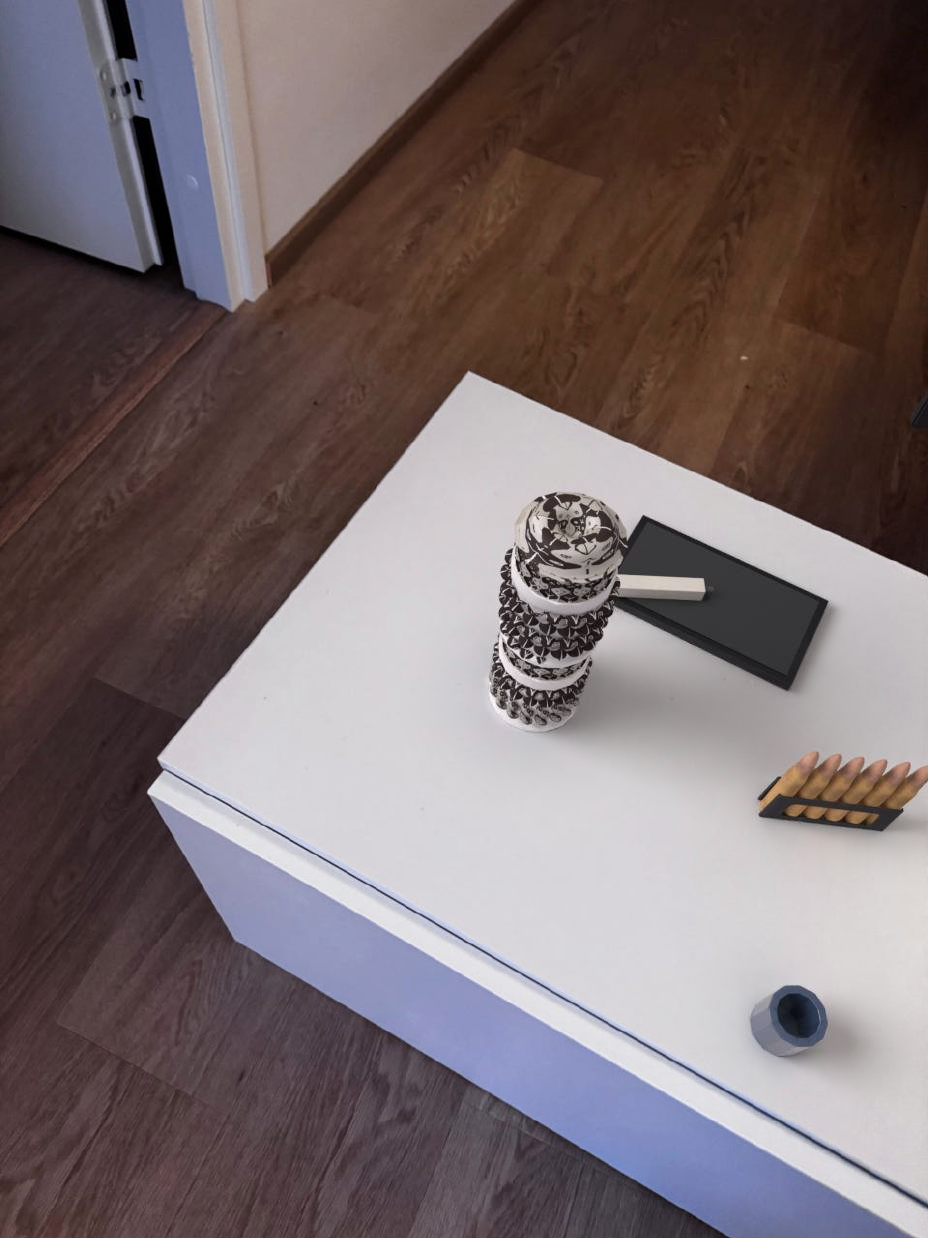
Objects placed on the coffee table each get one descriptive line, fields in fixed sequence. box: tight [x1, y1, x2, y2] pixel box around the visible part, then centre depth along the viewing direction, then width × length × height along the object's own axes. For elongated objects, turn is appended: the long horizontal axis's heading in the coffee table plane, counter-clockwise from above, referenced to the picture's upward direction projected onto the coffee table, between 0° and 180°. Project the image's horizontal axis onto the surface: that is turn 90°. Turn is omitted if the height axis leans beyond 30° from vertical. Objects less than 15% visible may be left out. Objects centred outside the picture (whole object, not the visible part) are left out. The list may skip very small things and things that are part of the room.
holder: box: [749, 984, 829, 1057], centre depth 72 cm, size 4×4×5 cm
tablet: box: [606, 514, 830, 692], centre depth 95 cm, size 20×11×1 cm, turn 60°
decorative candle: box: [488, 491, 628, 733], centre depth 78 cm, size 9×9×25 cm
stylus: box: [617, 574, 714, 601], centre depth 93 cm, size 2×2×14 cm
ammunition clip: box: [757, 750, 928, 832], centre depth 79 cm, size 11×2×12 cm, turn 84°
